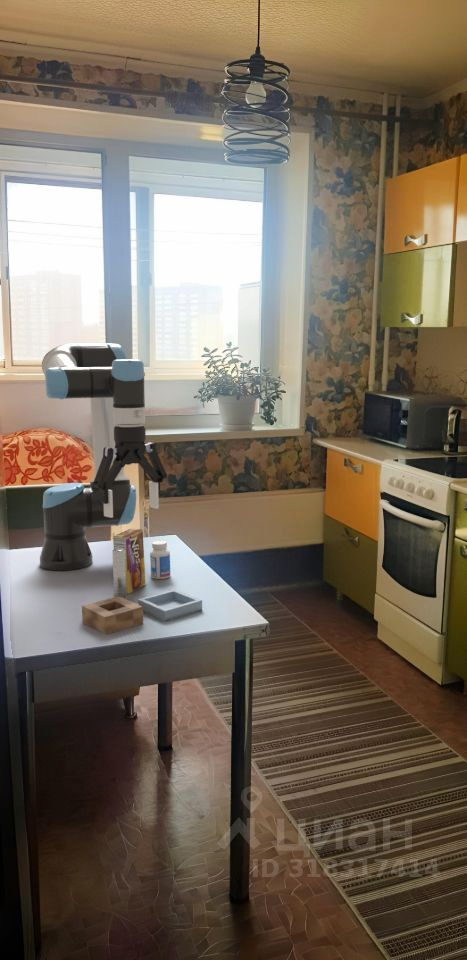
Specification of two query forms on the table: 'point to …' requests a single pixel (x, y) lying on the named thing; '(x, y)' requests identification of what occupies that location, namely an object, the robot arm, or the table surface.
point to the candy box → (132, 557)
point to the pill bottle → (160, 560)
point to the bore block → (112, 614)
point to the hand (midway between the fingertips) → (131, 512)
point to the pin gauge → (119, 573)
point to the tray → (170, 605)
